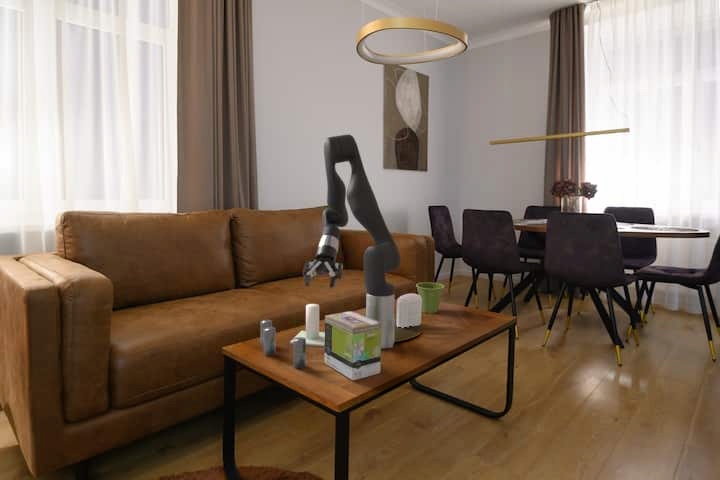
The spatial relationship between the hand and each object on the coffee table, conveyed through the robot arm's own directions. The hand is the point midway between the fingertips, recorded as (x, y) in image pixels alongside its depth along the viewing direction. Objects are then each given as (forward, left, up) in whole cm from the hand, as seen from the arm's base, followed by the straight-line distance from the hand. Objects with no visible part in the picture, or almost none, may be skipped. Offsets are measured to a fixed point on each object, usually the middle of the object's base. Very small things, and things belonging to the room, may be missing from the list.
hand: (319, 286), depth 154 cm
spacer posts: (+1, +24, -17) cm, 29 cm away
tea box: (-18, +29, -17) cm, 38 cm away
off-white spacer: (0, +7, -16) cm, 18 cm away
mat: (0, +8, -17) cm, 18 cm away
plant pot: (-38, -36, -17) cm, 55 cm away
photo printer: (-31, -14, -17) cm, 38 cm away
